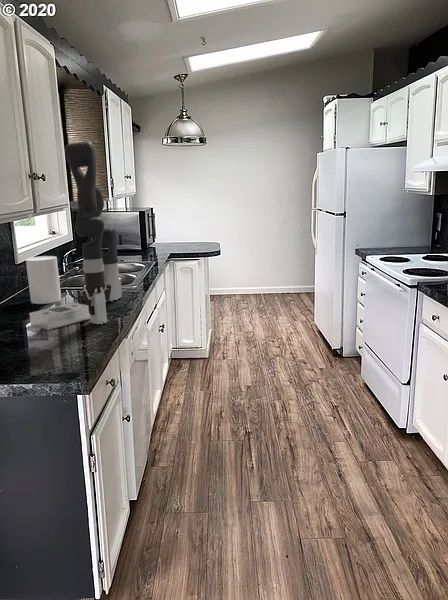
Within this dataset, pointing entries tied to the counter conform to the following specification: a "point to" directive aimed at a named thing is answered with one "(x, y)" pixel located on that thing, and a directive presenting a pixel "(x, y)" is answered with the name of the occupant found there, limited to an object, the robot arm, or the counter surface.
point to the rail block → (59, 316)
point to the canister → (43, 279)
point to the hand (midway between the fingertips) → (97, 313)
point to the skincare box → (99, 309)
